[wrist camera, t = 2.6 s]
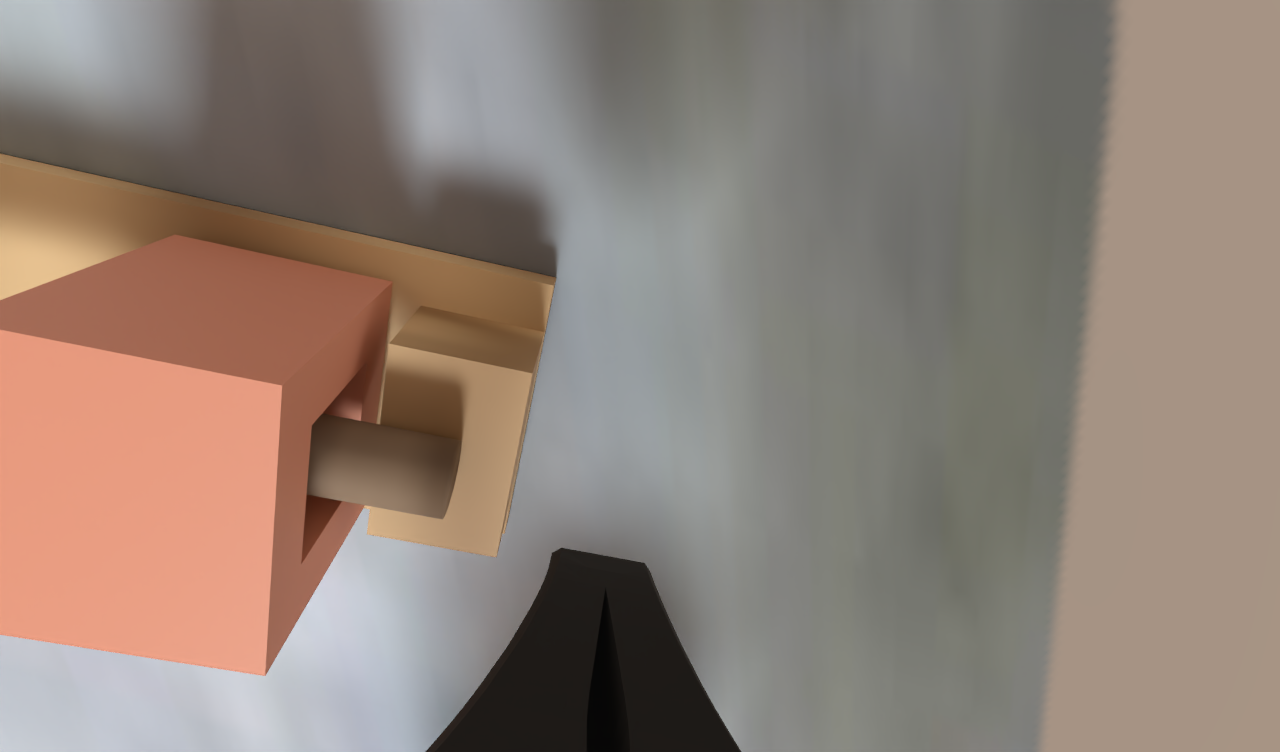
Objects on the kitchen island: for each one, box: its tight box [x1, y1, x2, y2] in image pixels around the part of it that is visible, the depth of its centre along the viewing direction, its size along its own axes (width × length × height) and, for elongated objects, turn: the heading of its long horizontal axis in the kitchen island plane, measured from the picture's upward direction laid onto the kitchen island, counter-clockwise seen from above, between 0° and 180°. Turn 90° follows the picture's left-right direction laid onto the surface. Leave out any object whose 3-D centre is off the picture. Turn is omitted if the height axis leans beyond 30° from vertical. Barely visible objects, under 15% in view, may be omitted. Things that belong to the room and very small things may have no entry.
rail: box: [0, 154, 556, 557], centre depth 13 cm, size 15×6×6 cm, turn 77°
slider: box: [0, 235, 393, 676], centre depth 13 cm, size 4×5×5 cm
